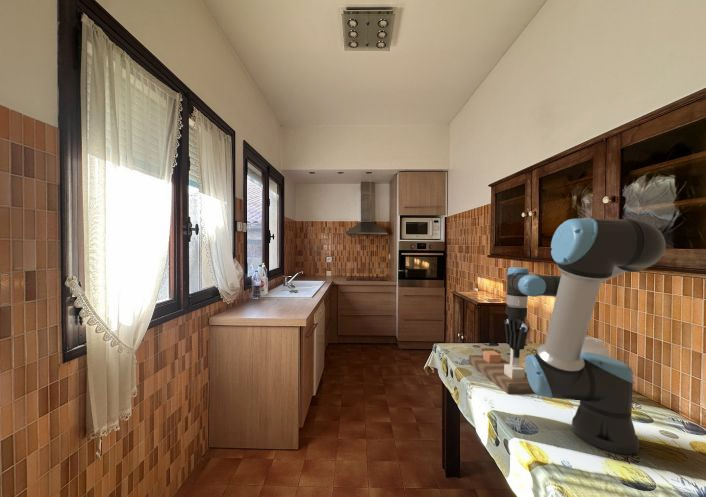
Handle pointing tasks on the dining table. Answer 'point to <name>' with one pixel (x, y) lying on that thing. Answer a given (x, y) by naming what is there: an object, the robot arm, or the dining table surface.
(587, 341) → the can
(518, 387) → the wooden board
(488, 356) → the orange block
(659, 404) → the dining table surface
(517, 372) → the cream block
